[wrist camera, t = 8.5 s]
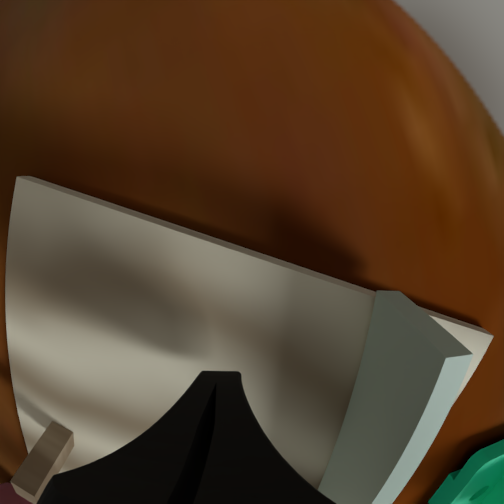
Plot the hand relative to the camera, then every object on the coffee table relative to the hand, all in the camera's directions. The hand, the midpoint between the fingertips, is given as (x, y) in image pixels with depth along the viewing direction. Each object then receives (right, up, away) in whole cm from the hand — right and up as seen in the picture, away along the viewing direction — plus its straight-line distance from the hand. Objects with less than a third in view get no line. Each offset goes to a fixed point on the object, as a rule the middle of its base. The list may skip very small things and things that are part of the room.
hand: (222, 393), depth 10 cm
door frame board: (-1, -6, +4) cm, 7 cm away
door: (+6, -4, +3) cm, 8 cm away
